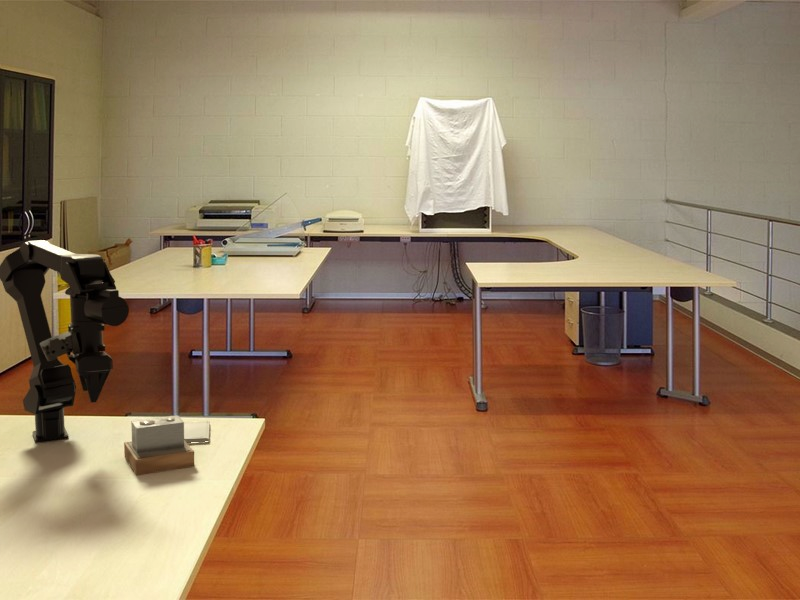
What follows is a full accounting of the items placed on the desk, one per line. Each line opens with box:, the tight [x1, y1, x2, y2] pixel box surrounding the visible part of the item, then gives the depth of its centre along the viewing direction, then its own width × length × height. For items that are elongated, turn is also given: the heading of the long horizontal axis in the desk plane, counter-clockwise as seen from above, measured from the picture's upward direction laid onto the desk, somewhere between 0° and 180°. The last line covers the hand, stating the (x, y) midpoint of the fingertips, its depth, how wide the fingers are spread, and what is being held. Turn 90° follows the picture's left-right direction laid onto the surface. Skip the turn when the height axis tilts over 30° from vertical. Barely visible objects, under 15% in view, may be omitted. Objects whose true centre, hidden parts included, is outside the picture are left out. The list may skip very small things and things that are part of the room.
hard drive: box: [183, 420, 211, 443], centre depth 175 cm, size 2×8×12 cm
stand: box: [123, 440, 195, 476], centre depth 158 cm, size 11×11×3 cm
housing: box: [131, 414, 185, 453], centre depth 157 cm, size 9×5×5 cm, turn 119°
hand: (89, 396), depth 160 cm, fingers open, 9 cm apart
